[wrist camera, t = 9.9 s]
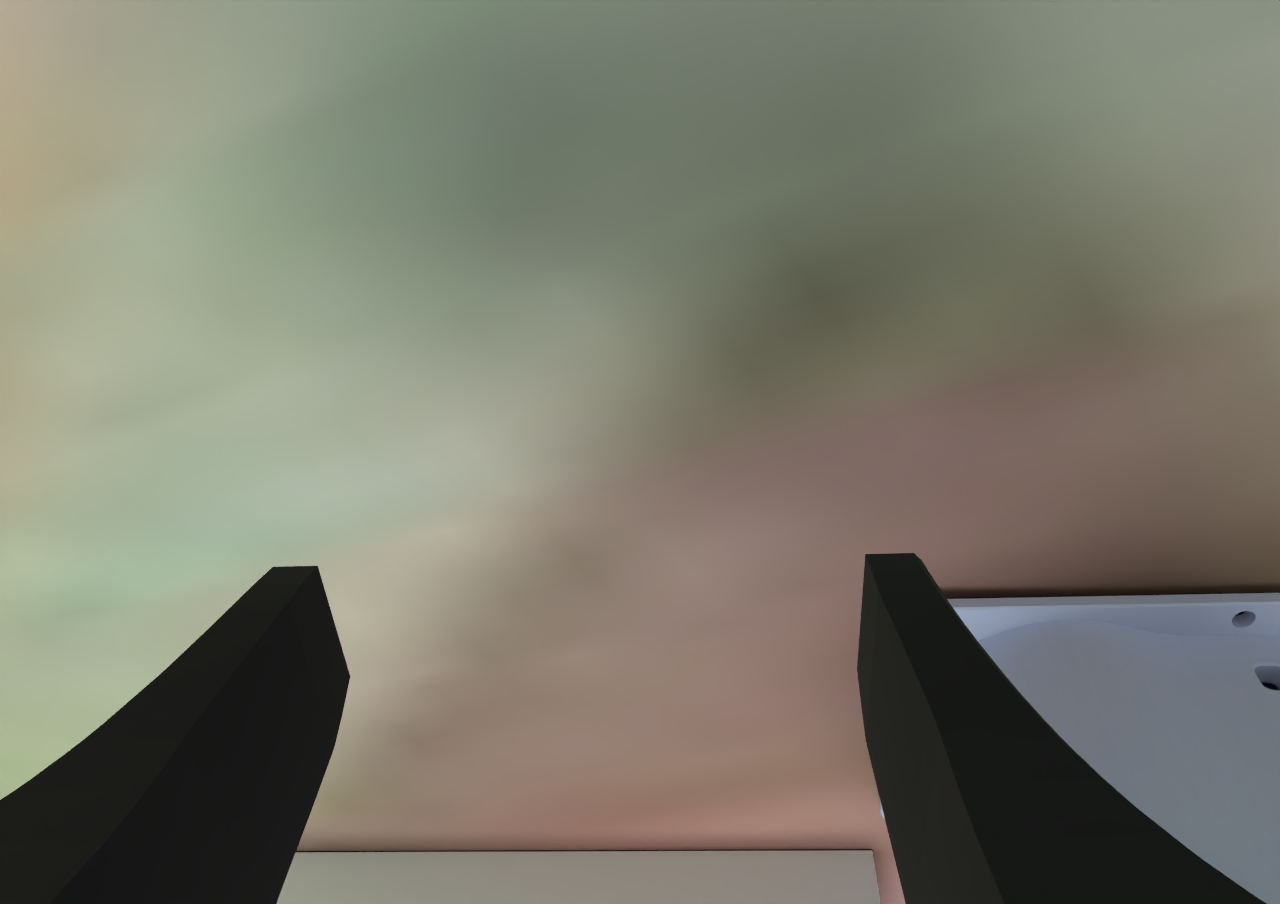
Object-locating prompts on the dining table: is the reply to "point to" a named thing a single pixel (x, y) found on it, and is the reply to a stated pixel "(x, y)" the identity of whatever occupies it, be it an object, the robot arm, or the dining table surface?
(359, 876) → the tray
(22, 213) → the dining table surface
